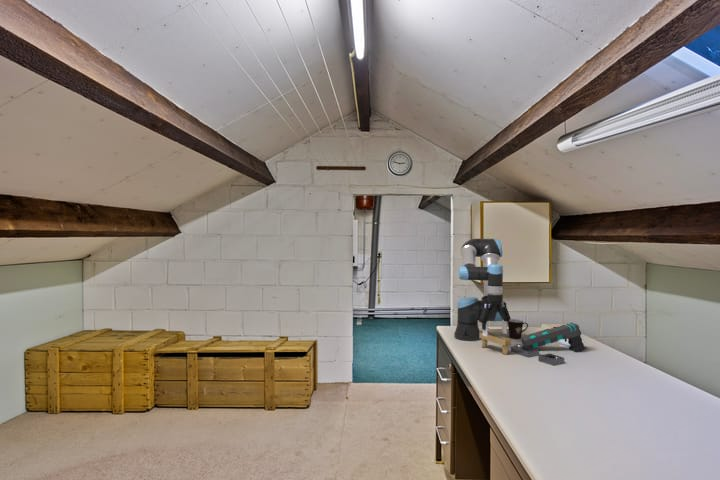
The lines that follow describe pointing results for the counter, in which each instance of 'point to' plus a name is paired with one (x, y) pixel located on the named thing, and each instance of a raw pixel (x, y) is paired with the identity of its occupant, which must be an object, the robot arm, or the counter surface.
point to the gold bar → (496, 341)
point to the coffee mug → (515, 328)
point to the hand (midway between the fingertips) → (494, 334)
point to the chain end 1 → (524, 350)
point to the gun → (556, 337)
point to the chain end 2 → (551, 359)
